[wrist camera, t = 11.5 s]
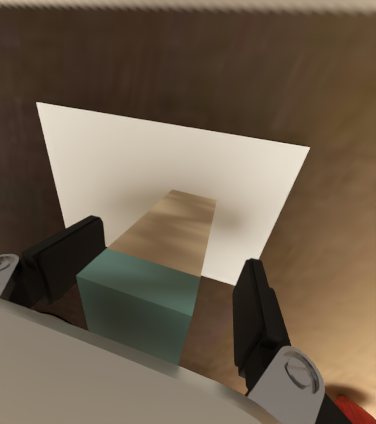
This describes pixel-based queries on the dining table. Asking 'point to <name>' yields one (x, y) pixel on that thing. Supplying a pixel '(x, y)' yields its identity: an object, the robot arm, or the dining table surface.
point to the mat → (169, 178)
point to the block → (150, 277)
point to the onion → (354, 411)
